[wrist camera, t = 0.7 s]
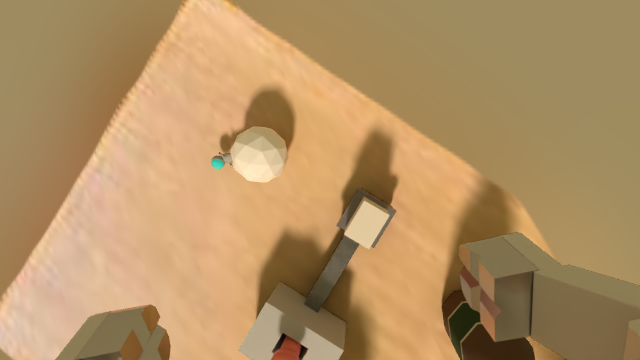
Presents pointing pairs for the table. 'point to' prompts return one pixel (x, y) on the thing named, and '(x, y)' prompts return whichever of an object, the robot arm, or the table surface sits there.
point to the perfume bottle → (256, 154)
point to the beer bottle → (478, 334)
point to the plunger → (288, 350)
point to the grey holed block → (294, 328)
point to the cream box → (366, 219)
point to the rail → (332, 272)
